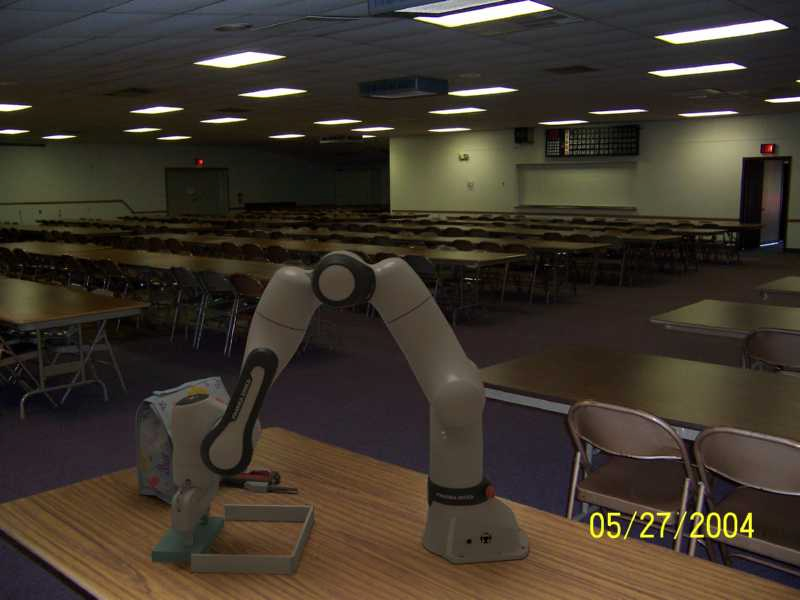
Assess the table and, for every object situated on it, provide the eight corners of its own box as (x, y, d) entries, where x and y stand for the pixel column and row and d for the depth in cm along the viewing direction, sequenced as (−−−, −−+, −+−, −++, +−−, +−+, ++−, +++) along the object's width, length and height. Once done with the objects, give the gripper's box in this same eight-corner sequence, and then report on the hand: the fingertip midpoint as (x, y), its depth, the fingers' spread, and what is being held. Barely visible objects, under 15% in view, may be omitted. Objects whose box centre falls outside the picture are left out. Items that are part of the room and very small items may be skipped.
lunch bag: (178, 511, 167) (172, 401, 163) (131, 495, 176) (125, 390, 172) (247, 478, 186) (243, 379, 182) (201, 466, 195) (197, 371, 191)
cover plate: (224, 529, 160) (223, 517, 160) (200, 566, 144) (200, 552, 144) (180, 528, 161) (179, 515, 160) (152, 565, 145) (151, 551, 144)
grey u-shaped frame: (314, 520, 162) (313, 505, 162) (294, 574, 139) (293, 557, 139) (225, 518, 163) (225, 504, 163) (191, 571, 140) (190, 555, 140)
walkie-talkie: (220, 491, 180) (296, 497, 176) (219, 474, 179) (296, 480, 175) (234, 477, 188) (307, 483, 184) (233, 461, 187) (307, 466, 184)
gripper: (193, 492, 139) (195, 558, 141) (223, 454, 159) (225, 512, 161) (161, 491, 140) (164, 557, 142) (196, 453, 160) (198, 512, 162)
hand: (197, 533), depth 152 cm, fingers open, 8 cm apart
